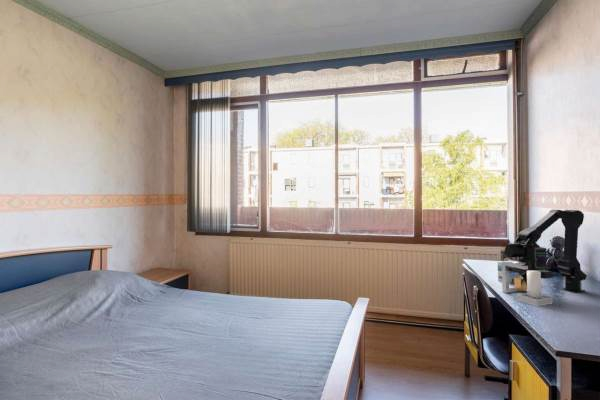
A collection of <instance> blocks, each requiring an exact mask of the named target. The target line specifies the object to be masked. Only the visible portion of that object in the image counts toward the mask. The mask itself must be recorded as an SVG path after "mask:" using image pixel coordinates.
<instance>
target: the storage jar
mask: <svg viewBox="0 0 600 400" xmlns="http://www.w3.org/2000/svg"><path fill="white" fill-rule="evenodd" d="M547 250H548V249H547V248H546V247H542V246H540V247H538V248H536V259H538V261H536V267H537V268H538V270H536V271H539V270H546V271H548V264H547V258H548V253H547V252H548V251H547Z"/></svg>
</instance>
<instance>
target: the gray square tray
mask: <svg viewBox="0 0 600 400" xmlns="http://www.w3.org/2000/svg"><path fill="white" fill-rule="evenodd" d="M525 296H527V292H524V293H518V294H517V293H516V300H517V301H519V302H522V303H525V304H529V305H531V304H532V306H534V305H535V306H534V307H541V305H542V306H547V304H548V305H552V304H553V302H554V301H553V297H544V298H543V299H538V300H536V299H532V298H529V297H525Z"/></svg>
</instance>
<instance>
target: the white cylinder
mask: <svg viewBox="0 0 600 400" xmlns="http://www.w3.org/2000/svg"><path fill="white" fill-rule="evenodd" d="M541 281H542V278H541V272H540V271H535V270H527V285H526V288H527V291H526V293H527V296H525V297H529V298H532V299H536V300H538V299H544V298H543V297H542V282H541Z"/></svg>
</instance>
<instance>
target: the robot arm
mask: <svg viewBox="0 0 600 400" xmlns="http://www.w3.org/2000/svg"><path fill="white" fill-rule="evenodd" d="M584 218H585V215H584V212H582V210H578V209H565V210H561V209H551V210H549V211H548V213H546V214H545V215H544V216H543V217H541V219H539V220H538V221H537V222H536V223H535V224H533V225H532V226H530V227H526V228H524V229H522V230H521V231H520V232H519V233H518V235H517V236H516V238H515V240H514V241H513V243H510V242H509V243H507V245H505V248H504V254H505V256H506V257H507V258H511V259H512V258H519V259H518V261H517V262H518V263H516V264H520V265H525V266H528V269H525V270H524V269H520V268H515V267H511V266H509V271H512V272H513V271H514V273H518V274H519V275H521V276H522V277H523V279H524V281H525V283H526V286H527V270H535V271H536V270H538V268H537V267H536V261H538V259H536V248H538V247H541V246H540V244H538V243H537V242H538V241H539V240H540V239H541V237H542V234H543V232H545V231H546V230H548V229H549V228H550V227H551V226H552V225H553V224H555V222H556V221H558V220H559V219H560V220H561V223H562V225H563V227H564V237H563V240H564V242H563V256H562V258H559V259H557V266H556V267H557V270H558V271H559V273H560V276H561V277H564V278H565V279H564V280H565V281H564V287H562V288H561V289H562V290H565V291H568V292H572V293H577V294H578V293H582V292H586V290H585V289H582V281H585V280H587V277H588V276H587V274H586V273H585V272H583V270H582V269H581V263H580V261H579V259H578V258H577V257H578V256H577V255H578V238H579V236H578V235H579V228H580V227H581V226H582V225H583V222H584V220H585V219H584ZM539 271H540V272H541V279H545V280H546V279H551V278H554V275H553V272H552V271H550V270H547V271H546V270H539Z"/></svg>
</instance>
